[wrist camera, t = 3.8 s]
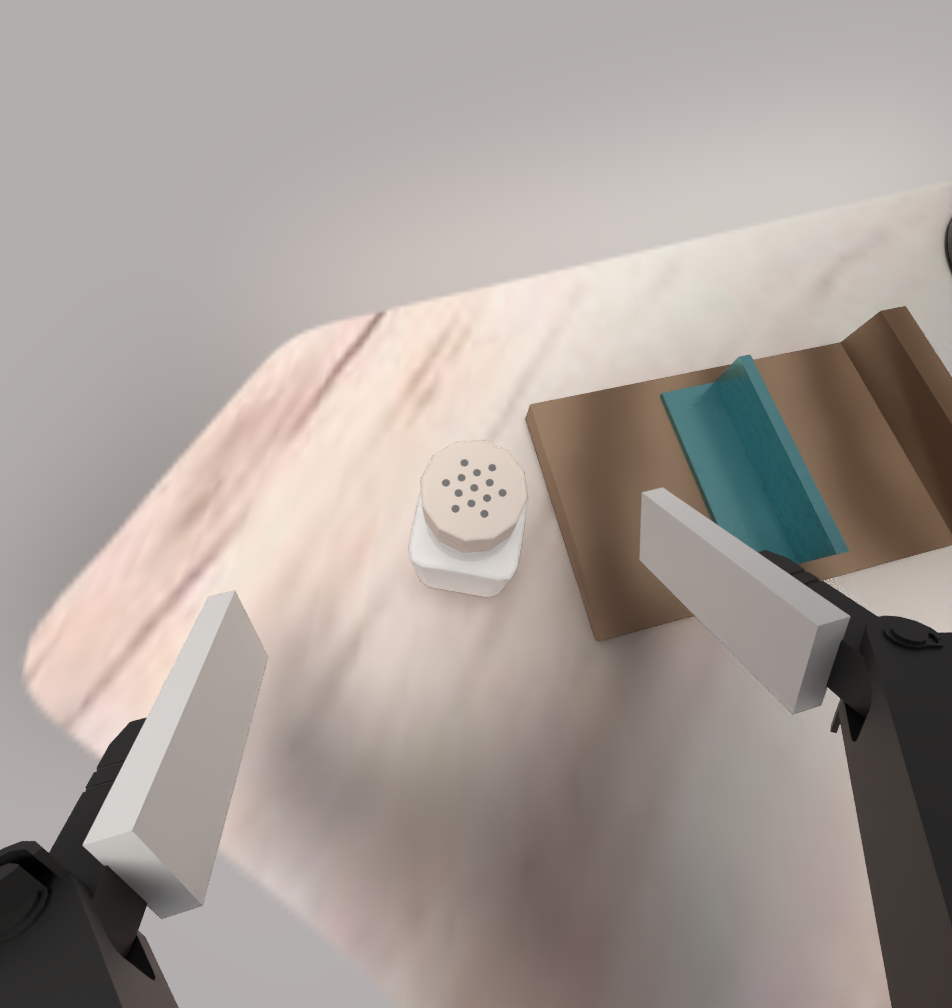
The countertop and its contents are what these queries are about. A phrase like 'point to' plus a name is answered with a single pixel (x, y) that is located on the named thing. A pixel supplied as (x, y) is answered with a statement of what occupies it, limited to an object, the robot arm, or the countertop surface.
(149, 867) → the robot arm
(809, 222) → the countertop surface
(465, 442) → the pepper shaker
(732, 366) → the bookend
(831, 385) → the shelf board
